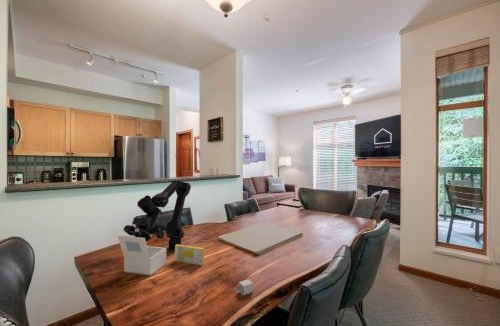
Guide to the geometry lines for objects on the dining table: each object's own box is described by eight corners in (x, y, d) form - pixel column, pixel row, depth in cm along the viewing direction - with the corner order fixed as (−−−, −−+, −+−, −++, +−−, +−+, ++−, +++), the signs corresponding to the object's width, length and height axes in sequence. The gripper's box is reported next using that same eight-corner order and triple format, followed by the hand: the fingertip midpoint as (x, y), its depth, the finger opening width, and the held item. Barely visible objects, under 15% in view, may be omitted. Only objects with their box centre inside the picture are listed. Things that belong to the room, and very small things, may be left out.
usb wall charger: (253, 292, 91) (253, 282, 91) (238, 299, 87) (238, 288, 87) (247, 288, 94) (247, 278, 94) (232, 293, 90) (232, 283, 90)
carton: (142, 260, 117) (142, 245, 117) (166, 264, 114) (166, 248, 114) (124, 272, 106) (124, 255, 106) (150, 276, 103) (150, 258, 102)
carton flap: (118, 235, 102) (117, 236, 101) (144, 238, 99) (144, 238, 98) (124, 255, 106) (123, 255, 105) (150, 258, 102) (149, 259, 102)
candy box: (204, 264, 115) (204, 248, 115) (202, 266, 113) (202, 249, 113) (177, 259, 120) (177, 243, 120) (174, 261, 118) (174, 245, 118)
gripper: (125, 208, 109) (106, 239, 99) (160, 210, 105) (144, 244, 95) (137, 220, 117) (121, 250, 107) (170, 222, 113) (156, 254, 103)
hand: (135, 249), depth 103 cm, fingers closed, pressing on carton flap
